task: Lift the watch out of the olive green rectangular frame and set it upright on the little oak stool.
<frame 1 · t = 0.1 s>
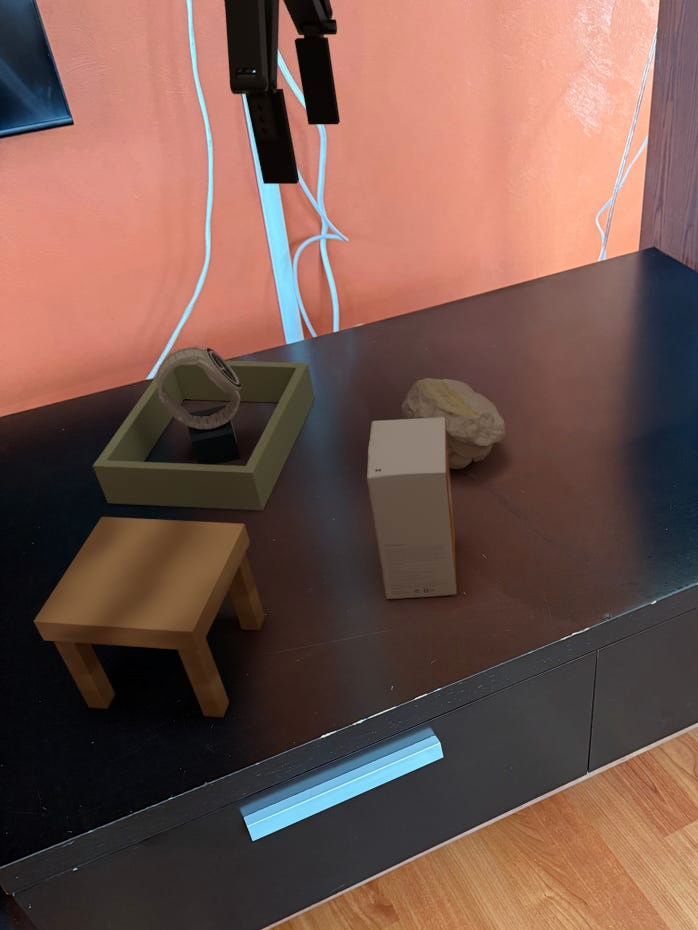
hand: (304, 151, 80), 28 cm above the table, tool pointing down, fingers open, 13 cm apart
stool: (180, 660, 78), on the table
olive green rectangular frame: (217, 448, 100), on the table
beige rock: (453, 453, 98), on the table
small box: (422, 569, 85), on the table
watch: (218, 449, 100), resting in olive green rectangular frame
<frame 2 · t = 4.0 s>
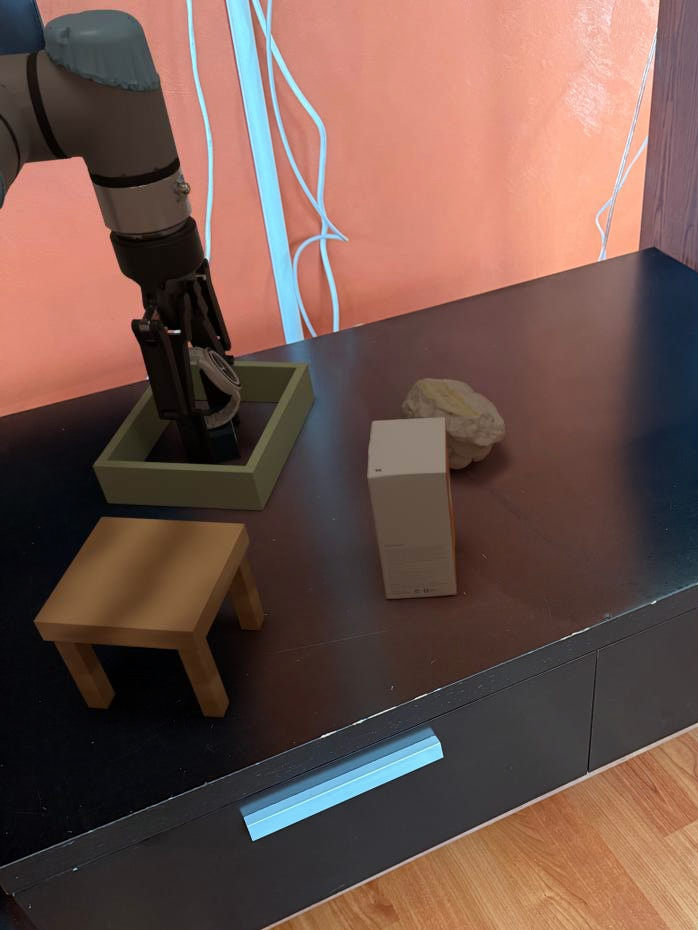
hand: (216, 444, 99), 1 cm above the table, tool pointing down, fingers closed on watch, 7 cm apart
watch: (218, 449, 100), resting in olive green rectangular frame, touching gripper
everything else where it was.
when the fingers open (11 cm above the table, at t = 12.0 s): watch stays where it is, resting on stool.
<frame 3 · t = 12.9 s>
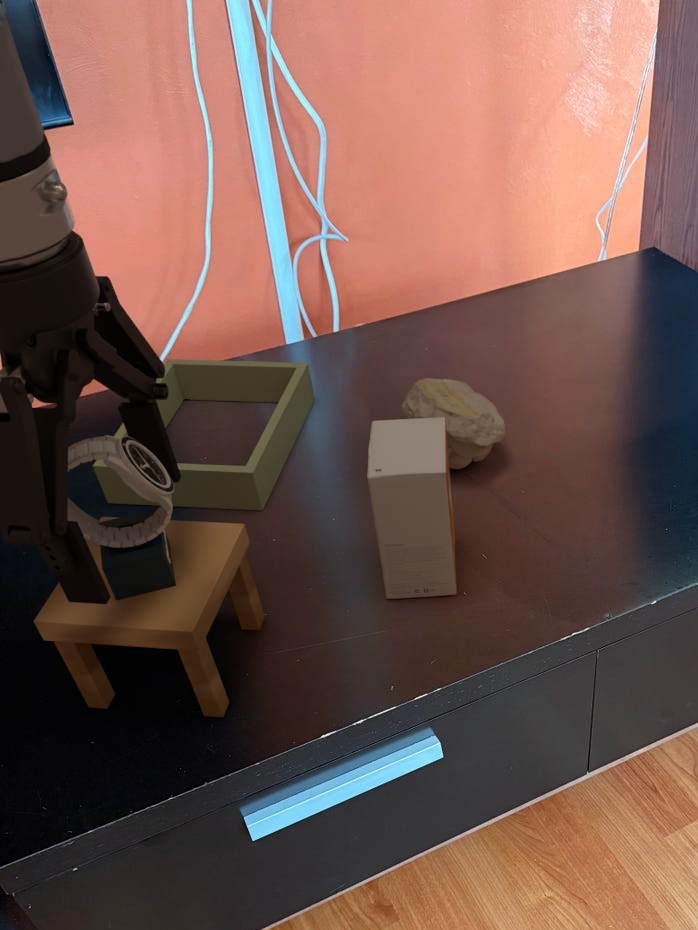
hand: (129, 535, 69), 13 cm above the table, tool pointing down, fingers open, 13 cm apart
watch: (145, 571, 71), point 10 cm above the table, touching stool
everything else where it was.
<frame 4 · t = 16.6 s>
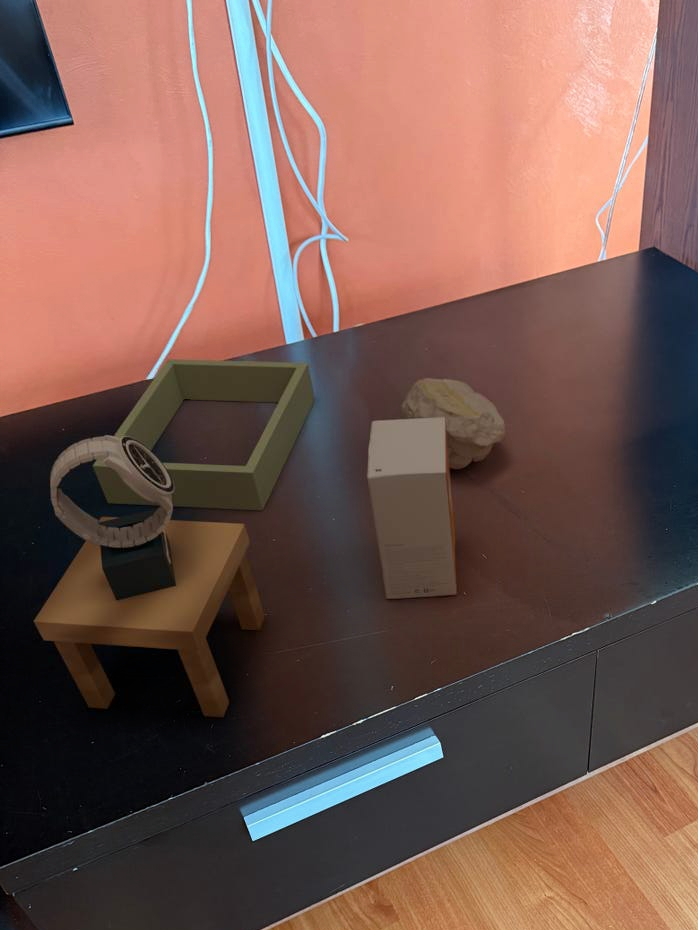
nothing on the table moved.
at the end: watch inside the target area on the stool (0.1 cm from its centre), point 9.8 cm above the stool's base; watch tilted 0° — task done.
